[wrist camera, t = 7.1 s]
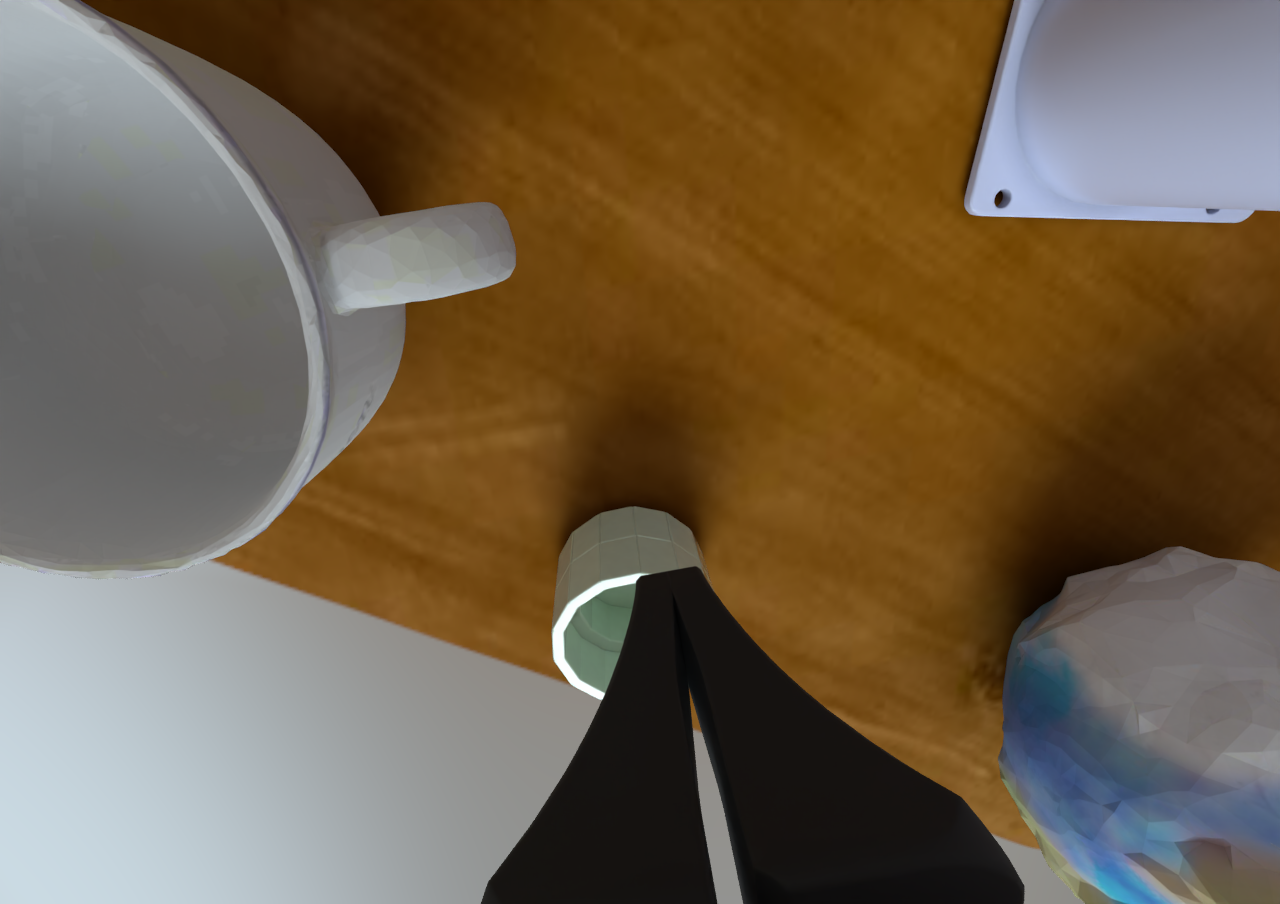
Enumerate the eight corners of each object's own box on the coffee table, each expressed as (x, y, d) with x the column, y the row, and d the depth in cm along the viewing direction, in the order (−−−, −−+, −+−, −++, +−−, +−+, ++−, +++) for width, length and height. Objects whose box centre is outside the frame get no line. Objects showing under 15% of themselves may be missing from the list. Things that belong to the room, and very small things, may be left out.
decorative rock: (1812, 1013, 9) (1228, 1244, 15) (1890, 740, 14) (1444, 993, 21) (1003, 513, 20) (873, 774, 26) (1235, 475, 26) (1080, 696, 32)
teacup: (121, 430, 18) (-181, 585, 11) (-30, 31, 14) (-707, -140, 7) (545, 436, 20) (516, 579, 12) (534, 71, 15) (480, -38, 8)
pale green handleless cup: (705, 497, 21) (730, 570, 17) (694, 614, 24) (715, 701, 20) (557, 499, 21) (548, 574, 17) (562, 617, 23) (555, 708, 19)
